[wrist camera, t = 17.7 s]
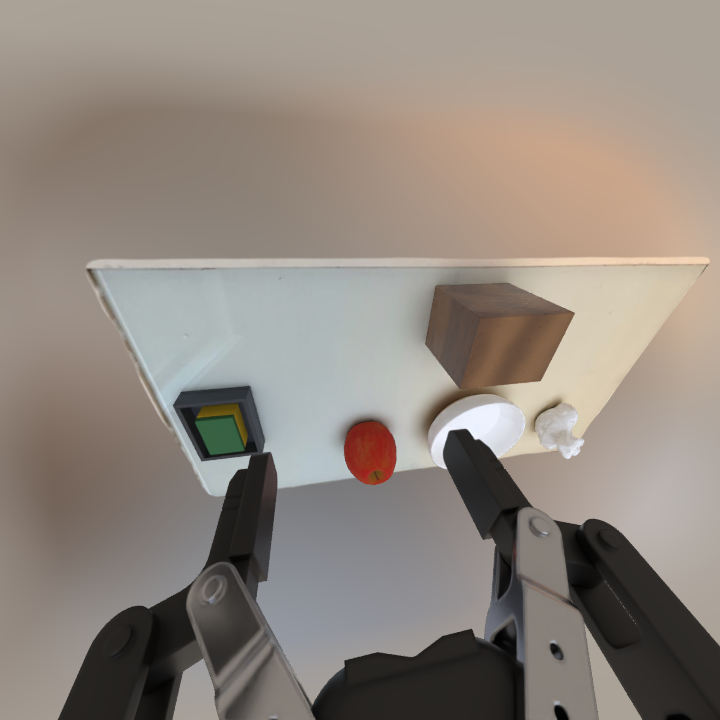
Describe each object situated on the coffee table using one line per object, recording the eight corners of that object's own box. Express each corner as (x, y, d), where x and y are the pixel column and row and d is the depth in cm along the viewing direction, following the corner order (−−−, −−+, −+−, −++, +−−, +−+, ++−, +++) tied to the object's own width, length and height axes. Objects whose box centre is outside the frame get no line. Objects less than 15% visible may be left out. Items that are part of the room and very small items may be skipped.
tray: (181, 392, 40) (172, 405, 38) (250, 386, 42) (246, 398, 39) (207, 447, 48) (201, 461, 45) (265, 440, 49) (262, 454, 47)
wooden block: (425, 344, 43) (459, 389, 33) (435, 285, 38) (480, 318, 28) (489, 339, 45) (540, 381, 35) (508, 283, 40) (575, 313, 30)
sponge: (202, 406, 42) (194, 421, 39) (237, 402, 43) (232, 417, 40) (216, 438, 46) (210, 455, 43) (248, 435, 47) (244, 451, 44)
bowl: (419, 393, 49) (432, 416, 44) (514, 373, 51) (537, 393, 45) (419, 454, 60) (429, 479, 55) (497, 437, 61) (513, 459, 56)
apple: (347, 454, 56) (354, 502, 47) (336, 423, 50) (341, 471, 41) (392, 442, 56) (408, 487, 47) (386, 409, 50) (402, 455, 42)
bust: (549, 390, 59) (555, 419, 50) (588, 404, 56) (602, 437, 47) (524, 427, 65) (526, 459, 56) (558, 441, 62) (566, 476, 54)
